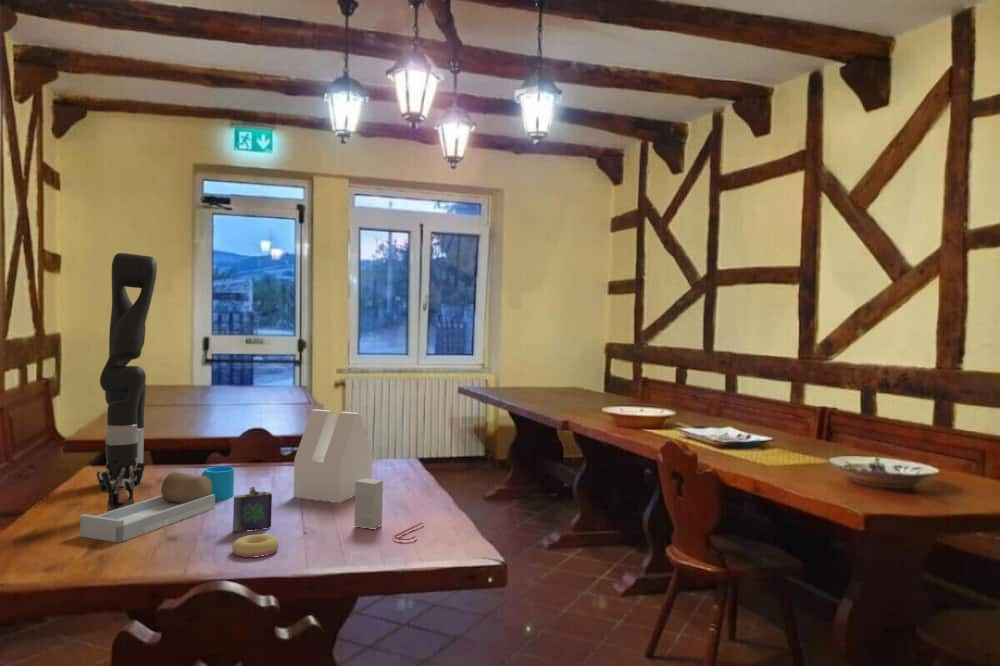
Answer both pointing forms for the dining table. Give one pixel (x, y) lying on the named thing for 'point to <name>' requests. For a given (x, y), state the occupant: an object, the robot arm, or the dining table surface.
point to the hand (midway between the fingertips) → (120, 504)
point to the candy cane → (406, 531)
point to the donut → (255, 545)
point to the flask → (252, 511)
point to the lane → (152, 510)
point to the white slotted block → (331, 457)
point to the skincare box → (368, 503)
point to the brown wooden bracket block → (120, 505)
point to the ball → (122, 495)
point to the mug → (221, 481)
